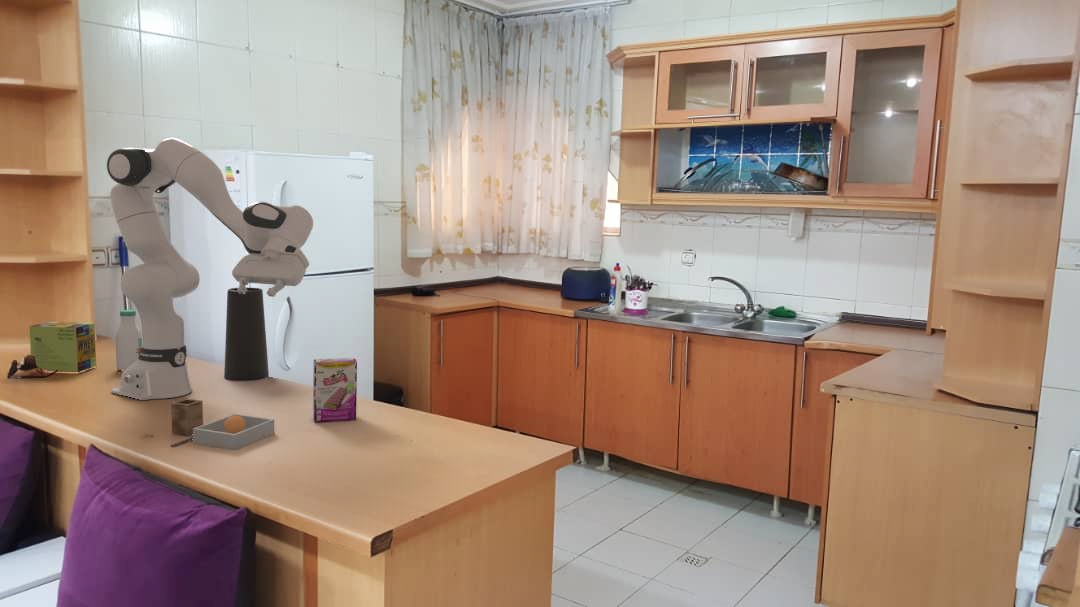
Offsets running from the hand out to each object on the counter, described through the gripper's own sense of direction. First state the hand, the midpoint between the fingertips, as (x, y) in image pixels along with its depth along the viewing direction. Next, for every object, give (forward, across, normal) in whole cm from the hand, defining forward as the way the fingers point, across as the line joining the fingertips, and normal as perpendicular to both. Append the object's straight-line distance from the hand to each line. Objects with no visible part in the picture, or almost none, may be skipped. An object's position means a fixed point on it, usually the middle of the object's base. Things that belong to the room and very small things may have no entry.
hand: (255, 293), depth 200 cm
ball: (+34, +8, +9) cm, 36 cm away
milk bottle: (+4, -74, +43) cm, 86 cm away
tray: (+36, +7, +11) cm, 38 cm away
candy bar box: (+19, +20, +28) cm, 40 cm away
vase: (-2, -34, +50) cm, 60 cm away
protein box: (+11, -91, +36) cm, 99 cm away
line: (+36, -1, +11) cm, 38 cm away
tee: (+37, -6, +11) cm, 39 cm away
